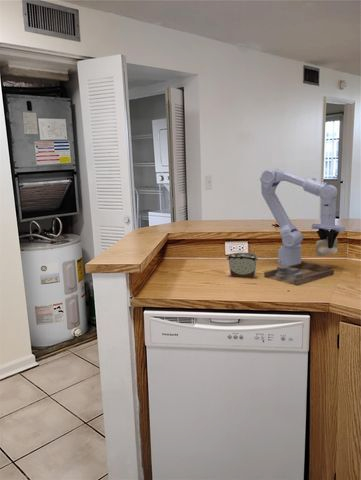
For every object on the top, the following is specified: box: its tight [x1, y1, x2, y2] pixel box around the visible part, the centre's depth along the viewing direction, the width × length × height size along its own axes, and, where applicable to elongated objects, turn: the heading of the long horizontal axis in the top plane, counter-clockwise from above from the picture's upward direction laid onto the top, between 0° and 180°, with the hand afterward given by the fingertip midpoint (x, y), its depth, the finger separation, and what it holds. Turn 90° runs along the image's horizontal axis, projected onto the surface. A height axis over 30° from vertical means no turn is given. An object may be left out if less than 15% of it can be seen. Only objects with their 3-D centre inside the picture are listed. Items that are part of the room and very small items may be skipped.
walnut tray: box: [263, 260, 335, 287], centre depth 162 cm, size 16×22×4 cm
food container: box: [226, 252, 259, 280], centre depth 165 cm, size 12×6×10 cm, turn 65°
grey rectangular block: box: [315, 237, 339, 257], centre depth 171 cm, size 2×11×6 cm, turn 125°
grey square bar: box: [275, 265, 302, 282], centre depth 159 cm, size 10×4×4 cm, turn 35°
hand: (327, 247), depth 171 cm, fingers closed on grey rectangular block, 2 cm apart
